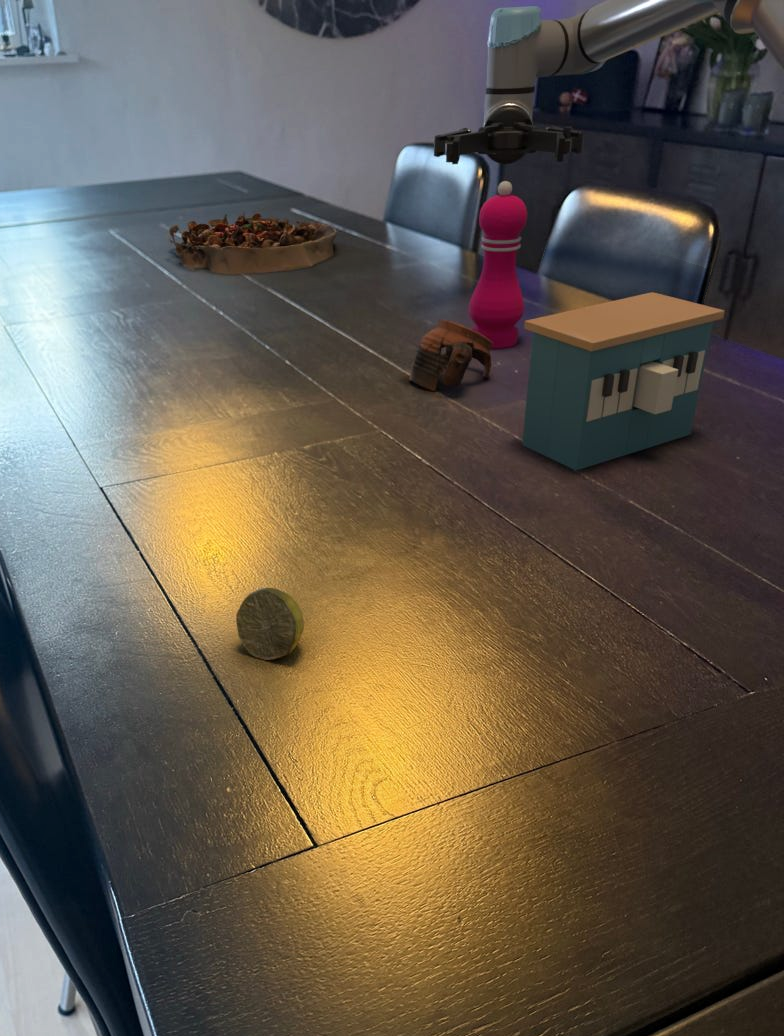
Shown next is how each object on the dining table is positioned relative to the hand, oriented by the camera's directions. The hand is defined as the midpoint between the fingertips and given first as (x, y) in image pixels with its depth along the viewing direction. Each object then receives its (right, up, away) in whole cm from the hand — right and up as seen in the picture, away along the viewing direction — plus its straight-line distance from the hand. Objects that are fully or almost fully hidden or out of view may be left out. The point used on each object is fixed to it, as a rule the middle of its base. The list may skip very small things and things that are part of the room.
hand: (507, 151), depth 122 cm
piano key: (+7, -41, -31) cm, 52 cm away
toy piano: (+5, -43, -25) cm, 50 cm away
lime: (-29, -65, -54) cm, 89 cm away
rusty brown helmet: (-9, -33, -8) cm, 35 cm away
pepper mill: (-1, -24, +5) cm, 24 cm away
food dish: (-37, +11, +59) cm, 71 cm away
